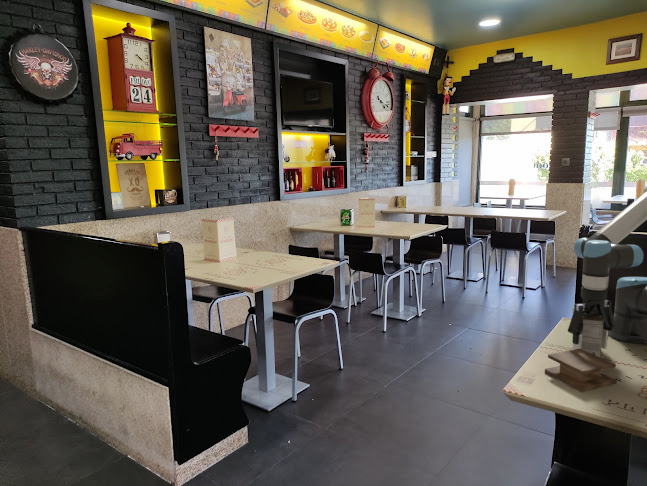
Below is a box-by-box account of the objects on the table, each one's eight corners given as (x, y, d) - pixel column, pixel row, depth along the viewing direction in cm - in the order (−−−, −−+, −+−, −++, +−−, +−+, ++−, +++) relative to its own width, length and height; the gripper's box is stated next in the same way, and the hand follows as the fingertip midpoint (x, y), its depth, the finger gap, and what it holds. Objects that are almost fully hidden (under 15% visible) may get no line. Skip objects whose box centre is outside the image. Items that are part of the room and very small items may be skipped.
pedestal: (578, 365, 152) (579, 347, 151) (616, 383, 139) (618, 364, 138) (544, 372, 148) (545, 354, 147) (581, 392, 135) (582, 372, 134)
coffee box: (578, 353, 162) (581, 309, 159) (599, 356, 159) (602, 311, 156) (578, 363, 154) (581, 317, 151) (600, 366, 151) (604, 320, 148)
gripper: (610, 281, 159) (605, 341, 163) (558, 288, 152) (554, 351, 155) (630, 286, 152) (625, 349, 156) (576, 294, 145) (572, 359, 148)
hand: (589, 350), depth 156 cm, fingers closed on coffee box, 11 cm apart
